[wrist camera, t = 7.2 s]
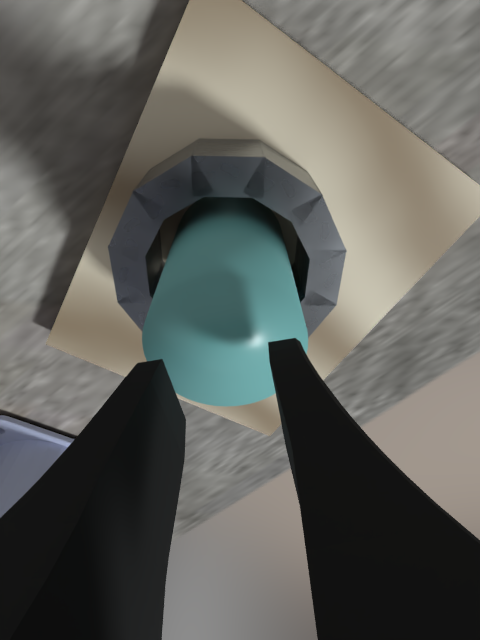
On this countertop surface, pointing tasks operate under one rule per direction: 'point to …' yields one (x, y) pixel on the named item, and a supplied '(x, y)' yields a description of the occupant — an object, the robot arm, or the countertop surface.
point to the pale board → (328, 174)
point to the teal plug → (224, 303)
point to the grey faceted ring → (227, 181)
